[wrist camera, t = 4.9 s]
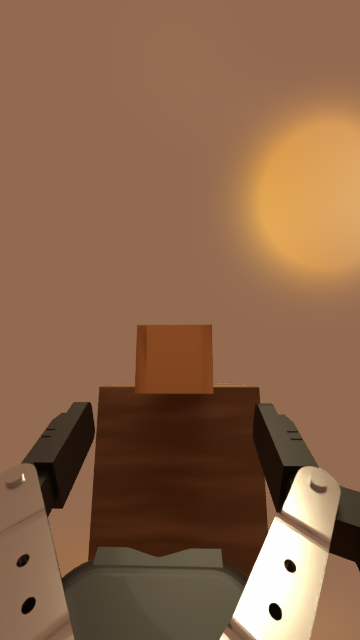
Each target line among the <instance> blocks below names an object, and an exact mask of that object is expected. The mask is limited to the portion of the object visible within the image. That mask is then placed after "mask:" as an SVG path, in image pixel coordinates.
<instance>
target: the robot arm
mask: <svg viewBox="0 0 360 640" xmlns="http://www.w3.org/2000/svg"><path fill="white" fill-rule="evenodd" d="M94 434H95V426H94V419H93V412H92V405H91V403H90V402H74V403H73V404H72V405H71V407H70V408H69V410H68V411H67V413H61V414H60V415H58V416H57V417H56V418H55V419H53V420H52V421H51V423H50V424H49V426H48V427H47V428H46V430H45V431H44V432H43V434H42V435H41V438H39V439H38V441H37V442H36V443H35V445H34V446H33V448H32V449H31V450H30V452H29V453H28V455H27V456H26V457H25V459H24V460H23V461H22V463H21V464H19V465H15V466H13V467H11V468H9V469H7V470H6V471H4V472H3V473H2V474H1V475H0V640H310V636H311V632H312V628H313V623H314V618H315V614H316V609H317V604H318V600H319V595H320V590H321V585H322V581H323V576H324V572H325V567H326V562H327V557H328V553H332V554H335V555H338V556H340V557H343V558H346V559H348V560H351V561H354V562H356V564H357V566H358V569H359V571H360V492H358V491H354V490H351V489H347V488H344V487H342V486H340V485H338V483H337V481H336V480H335V479H334V478H333V477H332V476H331V475H330V474H329V473H327V472H326V471H324V470H322V469H320V468H319V467H318V465H317V463H316V461H315V460H314V458H313V456H312V454H311V453H310V451H309V449H308V447H307V446H306V444H305V442H304V441H303V439H302V437H301V435H300V433H298V430H297V428H296V426H295V425H294V423H293V422H292V421H291V420H290V419H289V418H288V417H286V416H285V415H278V414H277V412H276V410H275V408H274V406H273V404H255V410H254V420H253V441H254V445H255V448H256V451H257V454H258V457H259V460H260V463H261V466H262V469H263V472H264V475H265V478H266V481H267V485H268V487H269V490H270V494H271V497H272V500H273V503H274V506H275V509H276V512H277V515H276V517H275V519H274V522H273V524H272V526H271V529H270V531H269V533H268V535H267V538H266V540H265V542H264V545H263V547H262V549H261V552H260V554H259V556H258V559H257V561H256V563H255V566H254V568H253V570H252V573H251V575H250V577H248V576H247V575H246V574H245V573H244V572H242V571H241V570H239V569H238V568H236V567H235V566H233V565H231V564H229V563H226V562H224V561H222V554H221V549H187V550H184V551H180V552H177V553H173V554H170V555H167V556H163V557H154V556H151V555H149V554H146V553H143V552H140V551H137V550H134V549H131V548H128V547H98V549H97V552H96V556H95V559H93V560H90V561H88V562H85V563H83V564H81V565H80V566H78V567H76V568H74V569H73V570H72V571H70V572H69V573H68V574H66V575H65V576H64V577H63V578H62V577H61V573H60V568H59V564H58V560H57V555H56V551H55V547H54V542H53V538H52V534H51V529H50V525H49V521H48V516H49V514H50V512H51V510H52V508H55V509H62V508H63V506H64V504H65V502H66V500H67V498H68V495H69V493H70V491H71V489H72V486H73V484H74V482H75V480H76V478H77V476H78V473H79V471H80V469H81V467H82V464H83V462H84V460H85V458H86V456H87V453H88V451H89V449H90V447H91V444H92V442H93V439H94Z"/></svg>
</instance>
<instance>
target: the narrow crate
mask: <svg viewBox="0 0 360 640" xmlns="http://www.w3.org/2000/svg"><path fill="white" fill-rule="evenodd" d="M135 375H136V376H135V393H149V394H213V358H212V325H137V348H136V374H135Z"/></svg>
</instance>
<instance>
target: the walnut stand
mask: <svg viewBox="0 0 360 640" xmlns="http://www.w3.org/2000/svg"><path fill="white" fill-rule="evenodd" d="M255 404H260V394H259V387H254V386H248V385H242V384H236V383H213V394H149V393H135V382H133V383H125V384H117V385H110V386H103V387H99V402H98V418H97V433H96V449H95V465H94V479H93V495H92V511H91V526H90V541H89V557H88V561H90V560H93V559H95V556H96V552H97V549H98V547H128V548H131V549H134V550H137V551H140V552H143V553H146V554H149V555H151V556H154V557H163V556H167V555H170V554H173V553H177V552H180V551H184V550H187V549H221V554H222V561H224V562H226V563H229V564H231V565H233V566H235V567H236V568H238V569H239V570H241V571H242V572H244V573H245V574H246V575H247V576H248V577H250V575H251V573H252V570H253V568H254V566H255V563H256V561H257V559H258V556H259V554H260V552H261V549H262V547H263V545H264V542H265V540H266V538H267V535H268V525H267V508H266V492H265V475H264V472H263V469H262V466H261V463H260V460H259V457H258V454H257V451H256V448H255V445H254V441H253V420H254V410H255Z"/></svg>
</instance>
